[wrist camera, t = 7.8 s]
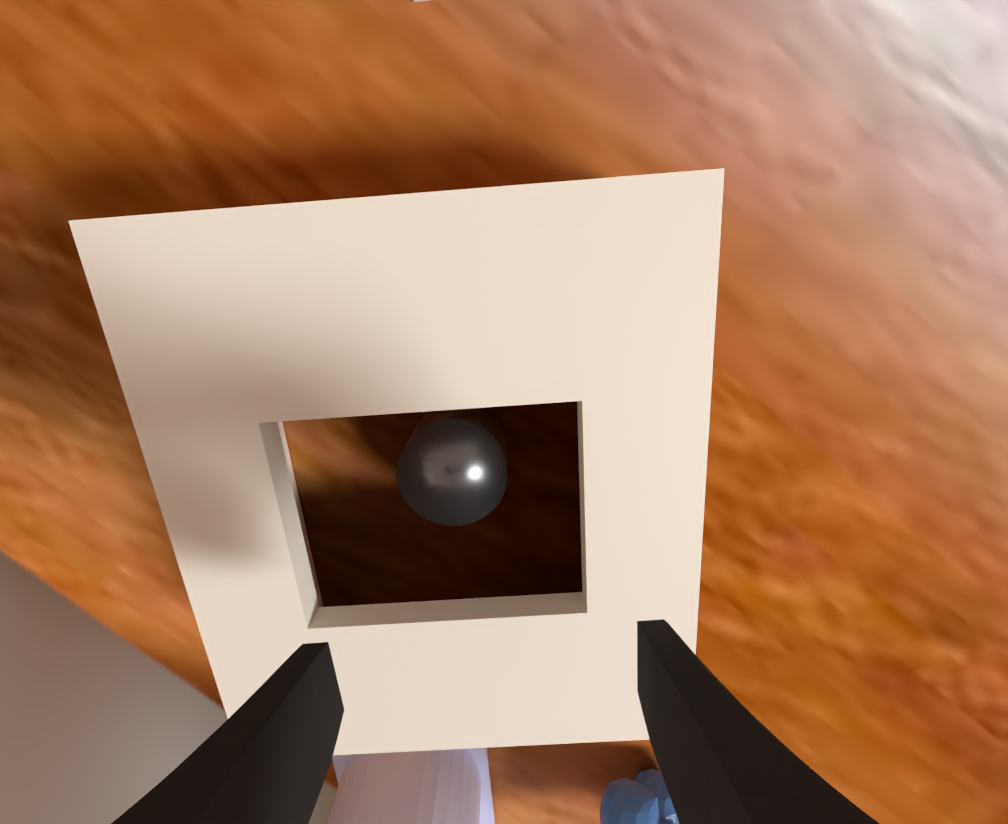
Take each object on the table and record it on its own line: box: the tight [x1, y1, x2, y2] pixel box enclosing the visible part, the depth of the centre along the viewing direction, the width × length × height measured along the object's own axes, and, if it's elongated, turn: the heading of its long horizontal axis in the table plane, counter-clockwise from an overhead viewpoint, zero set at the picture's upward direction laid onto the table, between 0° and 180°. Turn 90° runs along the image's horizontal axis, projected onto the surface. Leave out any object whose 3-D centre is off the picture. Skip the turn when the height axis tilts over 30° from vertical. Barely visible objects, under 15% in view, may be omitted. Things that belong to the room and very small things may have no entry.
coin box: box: [68, 168, 724, 755], centre depth 17 cm, size 18×16×6 cm
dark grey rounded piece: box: [396, 408, 507, 526], centre depth 18 cm, size 4×4×3 cm
